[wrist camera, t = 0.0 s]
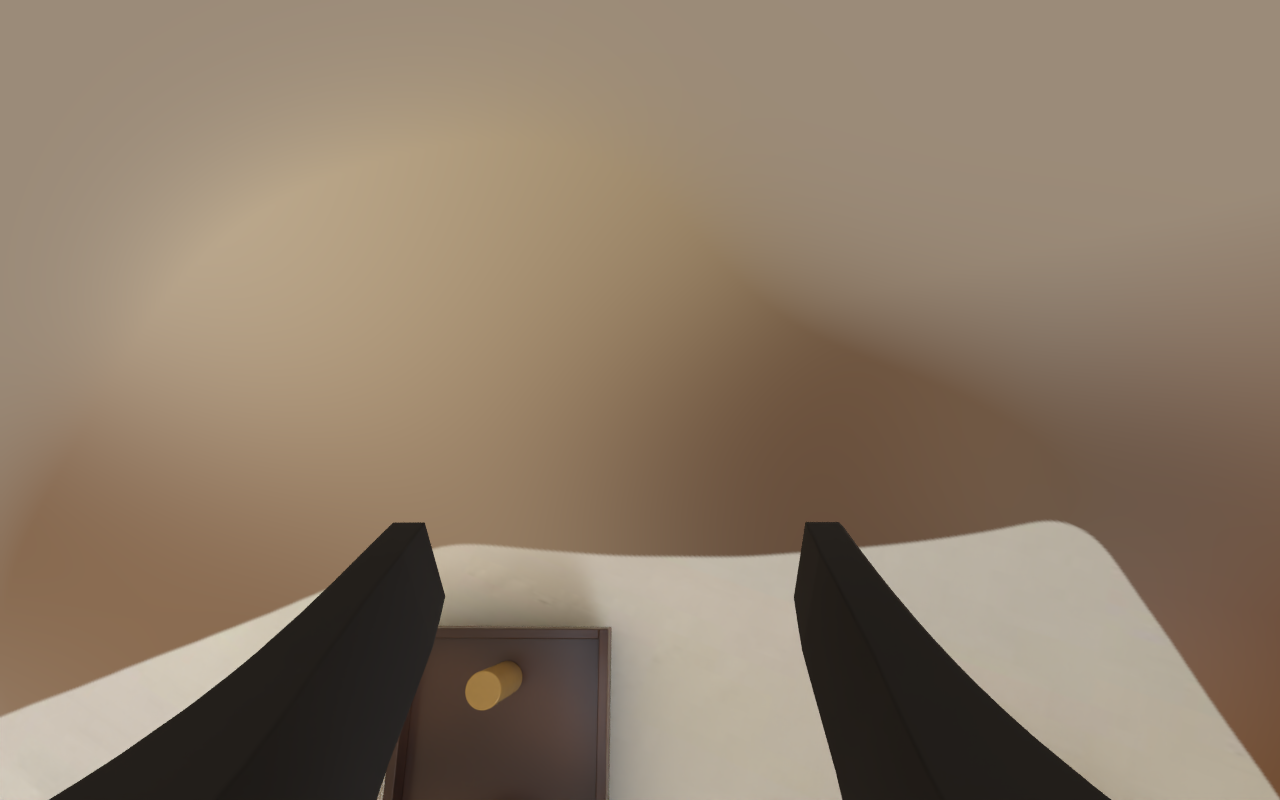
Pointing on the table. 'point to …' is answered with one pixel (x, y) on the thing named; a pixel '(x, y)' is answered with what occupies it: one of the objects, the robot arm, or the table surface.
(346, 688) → the robot arm
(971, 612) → the table surface
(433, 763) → the tray
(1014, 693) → the table surface
